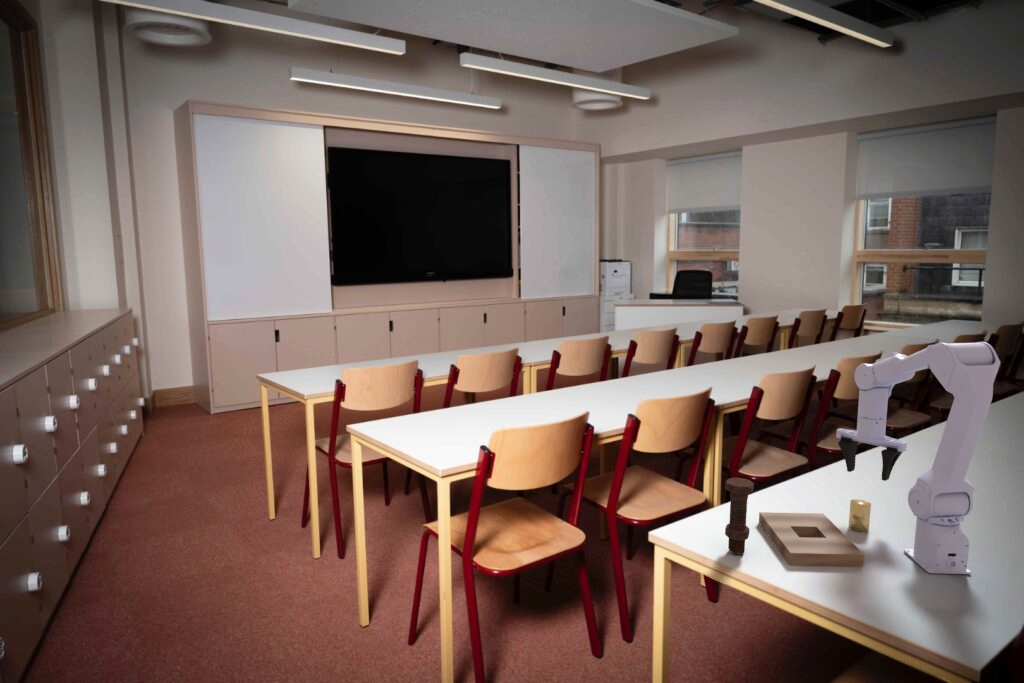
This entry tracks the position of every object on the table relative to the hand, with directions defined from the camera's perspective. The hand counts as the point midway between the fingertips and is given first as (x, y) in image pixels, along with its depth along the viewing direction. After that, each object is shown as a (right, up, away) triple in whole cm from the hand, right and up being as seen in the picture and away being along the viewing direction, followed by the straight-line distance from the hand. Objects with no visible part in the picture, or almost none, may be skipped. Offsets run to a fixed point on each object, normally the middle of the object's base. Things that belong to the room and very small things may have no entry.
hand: (867, 475), depth 155 cm
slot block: (-19, -12, -12) cm, 25 cm away
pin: (-4, -11, -4) cm, 13 cm away
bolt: (-35, -13, -16) cm, 40 cm away
